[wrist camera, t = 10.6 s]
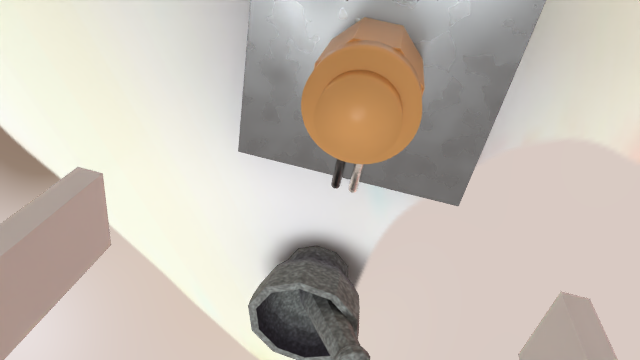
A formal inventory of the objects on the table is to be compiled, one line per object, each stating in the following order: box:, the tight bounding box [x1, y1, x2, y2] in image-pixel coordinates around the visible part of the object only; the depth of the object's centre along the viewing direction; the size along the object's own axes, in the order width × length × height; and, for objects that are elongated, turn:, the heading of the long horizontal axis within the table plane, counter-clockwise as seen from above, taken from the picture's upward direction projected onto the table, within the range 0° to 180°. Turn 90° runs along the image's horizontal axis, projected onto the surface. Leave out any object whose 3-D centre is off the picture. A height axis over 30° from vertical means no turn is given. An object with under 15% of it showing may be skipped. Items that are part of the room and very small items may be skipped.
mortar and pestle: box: [248, 246, 370, 360], centre depth 38 cm, size 11×9×12 cm
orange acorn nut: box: [301, 17, 425, 164], centre depth 26 cm, size 6×6×10 cm
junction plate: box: [238, 0, 546, 206], centre depth 29 cm, size 19×18×7 cm
